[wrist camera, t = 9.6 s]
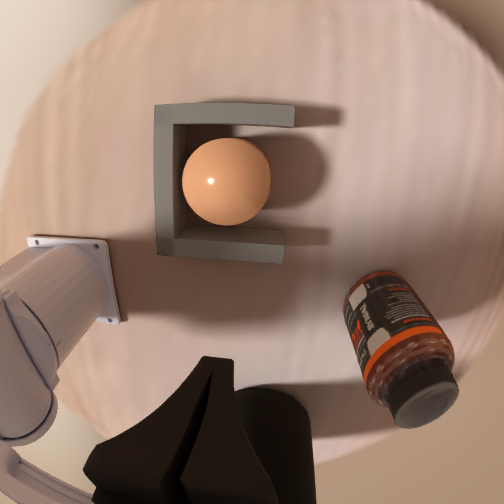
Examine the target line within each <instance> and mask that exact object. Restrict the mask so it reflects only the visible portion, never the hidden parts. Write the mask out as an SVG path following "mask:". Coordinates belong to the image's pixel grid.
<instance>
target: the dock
mask: <svg viewBox="0 0 504 504" xmlns="http://www.w3.org/2000/svg"><path fill="white" fill-rule="evenodd" d="M294 116H295V106H288V105H275V104H257V103H182V104H164V105H155V108H154V203H155V225H156V241H157V255H163V256H176V257H190V258H204V259H218V260H232V261H247V262H262V263H277V264H283V259H284V248H285V244H284V235H283V230H273V229H258V228H242V227H225V226H207V225H188V224H186V198H185V195H184V192H183V186H182V177H183V171H184V168H185V165H186V143H187V125H246V126H267V127H282V128H292V127H294Z"/></svg>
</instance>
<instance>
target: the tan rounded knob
mask: <svg viewBox="0 0 504 504" xmlns="http://www.w3.org/2000/svg"><path fill="white" fill-rule="evenodd" d="M182 186H183V192H184V195H185V198H186V200H187V202H188V204H189V205H190V207H191V208H192V209H193V210H194V212H195V213H197V214H198V215H199V216H200V217H202V218H203V219H205V220H207V221H209V222H211V223H214V224H218V225H236V224H240V223H243V222H245V221H247V220H249V219H251V218H252V217H254V216H255V215H256V214H257V213H258V212H259V211H260V210H261V209H262V207H263V206H264V204H265V203H266V201H267V198H268V196H269V192H270V186H271V176H270V166H269V163H268V160H267V158H266V156H265V155H264V153H263V152H262V151H261V150H260V149H259V148H258V147H257V146H256V145H255V144H253V143H251V142H249V141H247V140H244V139H240V138H221V139H215V140H212V141H209V142H207V143H205V144H203V145H202V146H200V147H199V148H198V149H197V150H195V151H194V153H193V154H192V155H191V156H190V158H189V159H188V161H187V163H186V165H185V168H184V171H183V177H182Z"/></svg>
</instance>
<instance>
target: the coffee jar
mask: <svg viewBox="0 0 504 504" xmlns="http://www.w3.org/2000/svg"><path fill="white" fill-rule="evenodd" d="M235 397H236V402H237V406H238V409H239V413H240V417H241V420H242V423H243V426H244V428H245V431H246V433H247V436H248V438H249V441H250V443H251V445H252V447H253V449H254V451H255V453H256V455H257V457H258V459H259V461H260V462H261V464H262V466H263V468H264V469H265V471H266V472H267V474H268V475H269V477H270V479H271V481H272V484H273V487H274V489H275V492H276V495H277V498H278V504H316V489H315V475H314V460H313V448H312V436H311V425H310V419H309V416H308V413H307V411H306V409H305V408H304V407H303V406H302V405H301V404H300V403H299V402H298V401H296V400H295V399H294V398H293V397H291V396H289V395H287V394H285V393H283V392H279V391H275V390H271V389H259V388H251V389H245V390H238V391H236V392H235Z"/></svg>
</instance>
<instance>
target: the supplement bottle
mask: <svg viewBox="0 0 504 504" xmlns="http://www.w3.org/2000/svg"><path fill="white" fill-rule="evenodd" d="M343 312H344V318H345V323H346V326H347V329H348V332H349V334H350V337H351V340H352V343H353V346H354V349H355V352H356V355H357V359H358V362H359V365H360V368H361V372H362V375H363V378H364V381H365V384H366V388H367V390H368V393H369V395H370V396H371V398H372V399H373V400H374V401H375V402H376V403H378V404H380V405H381V406H385V407H389V408H390V411H391V413H392V416H393V418H394V421H395V423H396V424H397V426H399V427H401V428H406V429H411V428H417V427H420V426H423V425H426V424H427V423H430V422H432V421H434V420H435V419H437V418H438V417H440V416H441V415H443V414H444V413H445V412H446V411H447V410H448V409H449V408H450V407H451V406H452V405H453V404H454V402H455V400H456V399H457V396H458V393H459V389H458V385H457V383H456V382H455V380H454V377H453V374H452V373H451V371H452V368H453V365H454V349H453V346H452V344H451V342H450V340H449V339H448V337H447V336H446V334H445V333H444V331H443V330H442V328H441V327H440V325H439V324H438V323H437V321H436V320H435V318H434V317H433V316H432V314H431V313H430V311H429V310H428V309H427V307H426V306H425V305H424V303H423V302H422V301H421V299H420V298H419V297H418V295H417V294H416V293H415V291H414V290H413V289H412V287H411V286H410V285H409V284H408V283H407V282H406V281H405V279H404V278H402V277H401V276H400V275H398V274H396V273H393V272H388V271H381V272H375V273H372V274H369V275H367V276H365V277H363V278H362V279H360V280H359V281H358V282H357V283H356V284H355V285H354V286H353V287H352V288H351V289H350V291H349V293H348V294H347V296H346V298H345V302H344V307H343Z"/></svg>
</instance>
